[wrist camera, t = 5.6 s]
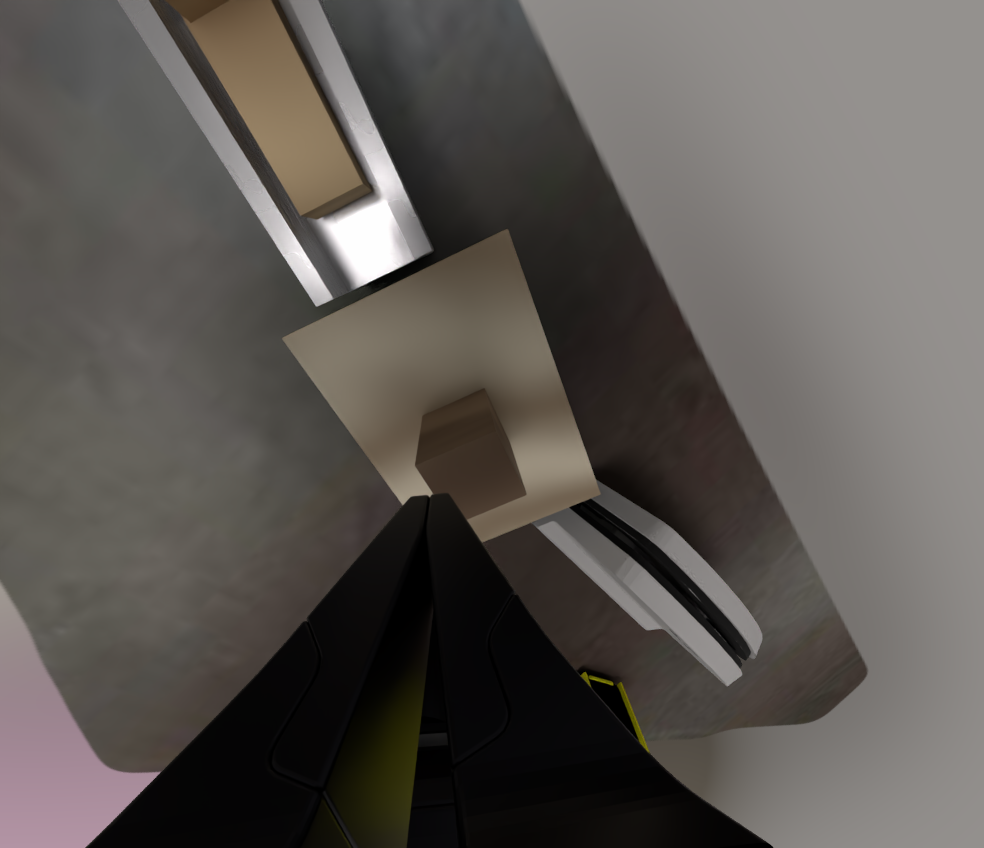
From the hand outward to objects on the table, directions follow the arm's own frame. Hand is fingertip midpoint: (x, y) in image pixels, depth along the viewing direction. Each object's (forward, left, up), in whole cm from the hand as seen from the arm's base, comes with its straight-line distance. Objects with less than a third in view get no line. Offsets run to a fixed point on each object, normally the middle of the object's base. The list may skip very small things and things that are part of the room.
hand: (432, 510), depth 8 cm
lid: (-2, 0, -9) cm, 9 cm away
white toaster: (-19, -6, -12) cm, 23 cm away
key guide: (+8, 0, -12) cm, 15 cm away
